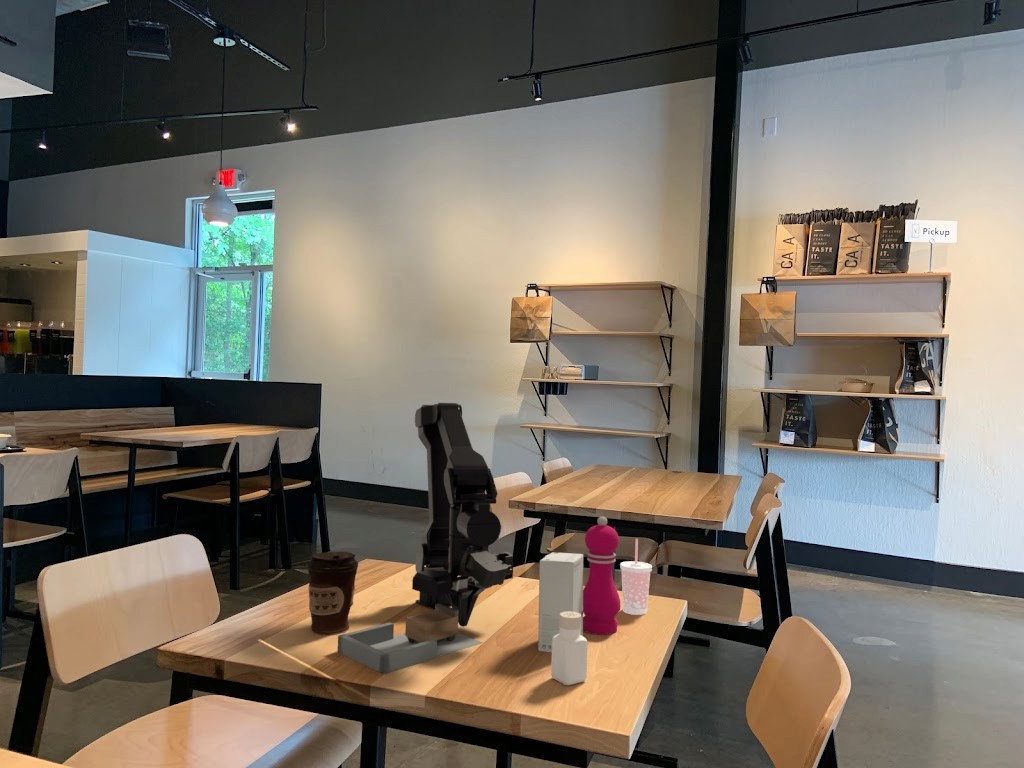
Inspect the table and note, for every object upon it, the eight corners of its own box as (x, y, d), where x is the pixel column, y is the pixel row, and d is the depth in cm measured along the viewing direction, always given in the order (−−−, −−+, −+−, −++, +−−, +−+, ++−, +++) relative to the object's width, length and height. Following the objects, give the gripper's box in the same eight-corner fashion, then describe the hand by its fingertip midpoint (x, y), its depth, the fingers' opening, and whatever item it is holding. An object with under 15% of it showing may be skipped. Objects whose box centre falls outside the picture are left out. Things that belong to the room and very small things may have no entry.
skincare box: (572, 657, 115) (575, 563, 115) (535, 652, 117) (538, 559, 117) (583, 640, 123) (585, 552, 123) (548, 636, 125) (551, 549, 125)
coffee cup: (342, 641, 119) (344, 562, 119) (295, 636, 120) (298, 558, 121) (363, 625, 127) (365, 551, 128) (319, 621, 129) (321, 547, 129)
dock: (435, 626, 128) (436, 610, 128) (483, 644, 120) (483, 627, 120) (337, 653, 113) (338, 635, 113) (383, 675, 105) (384, 656, 105)
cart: (437, 632, 124) (438, 603, 124) (457, 640, 120) (458, 610, 120) (404, 642, 119) (405, 611, 119) (425, 650, 115) (426, 618, 115)
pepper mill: (623, 625, 131) (626, 515, 132) (615, 638, 125) (618, 521, 125) (584, 620, 134) (587, 512, 134) (574, 632, 127) (577, 517, 127)
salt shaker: (588, 681, 105) (589, 616, 105) (566, 687, 103) (568, 620, 103) (570, 672, 108) (572, 608, 109) (549, 678, 106) (551, 612, 106)
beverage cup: (644, 618, 136) (646, 543, 137) (614, 612, 139) (616, 539, 140) (655, 610, 142) (657, 538, 142) (625, 604, 145) (627, 534, 145)
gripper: (456, 549, 112) (453, 651, 112) (537, 535, 126) (534, 625, 126) (411, 538, 120) (408, 633, 120) (492, 525, 133) (489, 611, 133)
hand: (463, 625), depth 124 cm, fingers closed
